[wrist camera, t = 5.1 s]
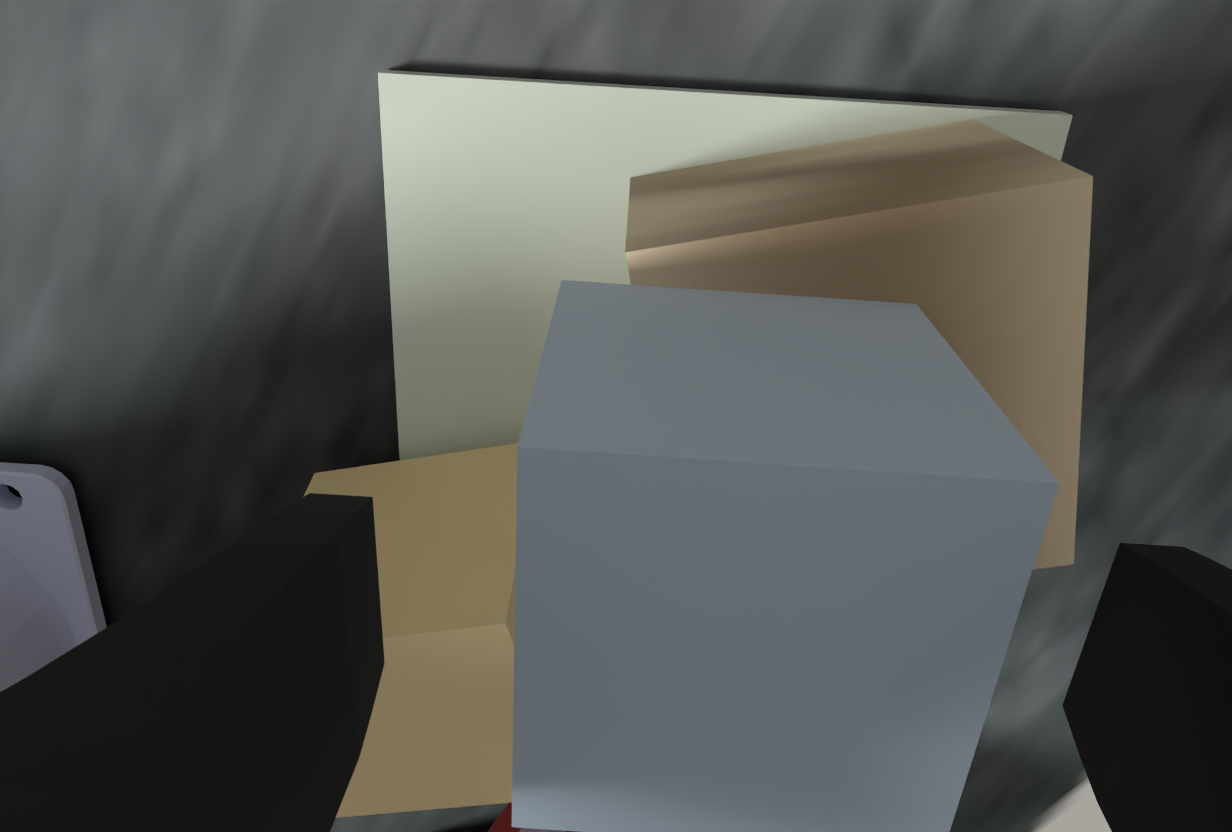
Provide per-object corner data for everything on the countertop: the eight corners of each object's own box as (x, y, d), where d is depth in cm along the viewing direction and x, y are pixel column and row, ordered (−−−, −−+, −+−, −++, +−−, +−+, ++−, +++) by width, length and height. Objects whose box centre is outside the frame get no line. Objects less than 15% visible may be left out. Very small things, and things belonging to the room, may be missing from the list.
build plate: (408, 526, 17) (403, 539, 17) (385, 69, 14) (378, 72, 13) (946, 560, 17) (952, 572, 17) (1060, 110, 14) (1072, 115, 13)
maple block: (677, 465, 16) (688, 611, 12) (630, 177, 14) (625, 252, 10) (974, 424, 15) (1073, 564, 12) (972, 119, 13) (1092, 176, 10)
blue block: (551, 571, 12) (512, 826, 9) (561, 279, 10) (516, 445, 7) (854, 592, 12) (942, 855, 9) (916, 304, 10) (1058, 482, 7)
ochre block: (393, 628, 18) (336, 817, 15) (314, 473, 16) (226, 656, 13) (590, 604, 18) (575, 796, 14) (537, 440, 15) (504, 623, 12)
